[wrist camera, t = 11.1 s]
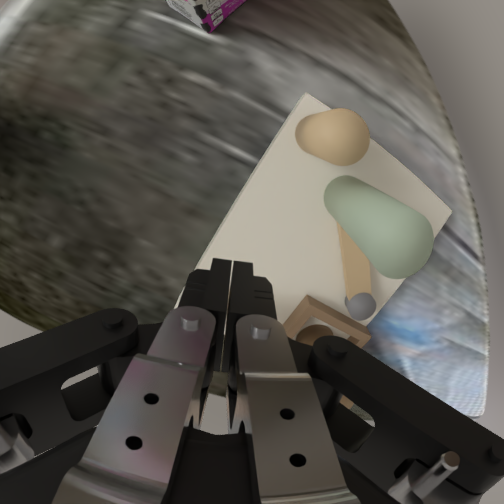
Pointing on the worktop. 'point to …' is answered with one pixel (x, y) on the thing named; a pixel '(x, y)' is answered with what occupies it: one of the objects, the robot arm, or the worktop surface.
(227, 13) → the candy bar box
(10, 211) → the worktop surface
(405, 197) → the stool seat
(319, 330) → the loose leg
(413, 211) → the hinged leg
